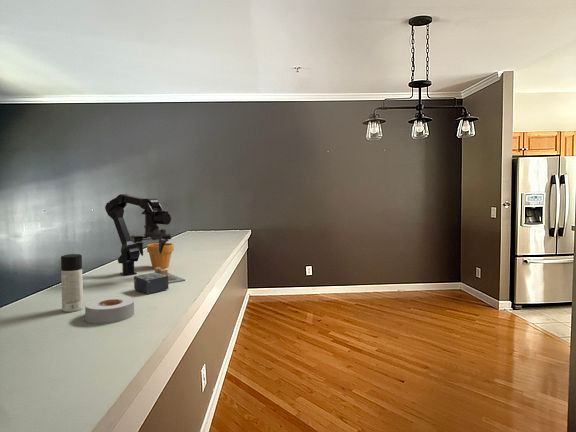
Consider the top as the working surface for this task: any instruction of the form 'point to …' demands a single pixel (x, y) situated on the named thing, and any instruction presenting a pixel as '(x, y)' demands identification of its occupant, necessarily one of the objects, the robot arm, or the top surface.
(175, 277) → the mat
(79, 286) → the spray can
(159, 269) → the turner
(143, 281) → the small box
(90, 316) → the tape roll
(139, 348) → the top surface
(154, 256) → the flower pot
